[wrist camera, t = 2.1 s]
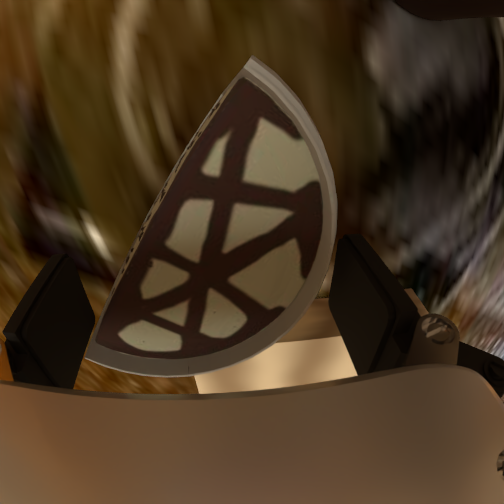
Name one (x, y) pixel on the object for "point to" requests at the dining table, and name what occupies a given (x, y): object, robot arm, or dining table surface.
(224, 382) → the dock
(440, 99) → the dining table surface
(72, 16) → the dining table surface
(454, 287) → the dining table surface
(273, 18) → the dining table surface
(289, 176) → the food container
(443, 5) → the bottle
